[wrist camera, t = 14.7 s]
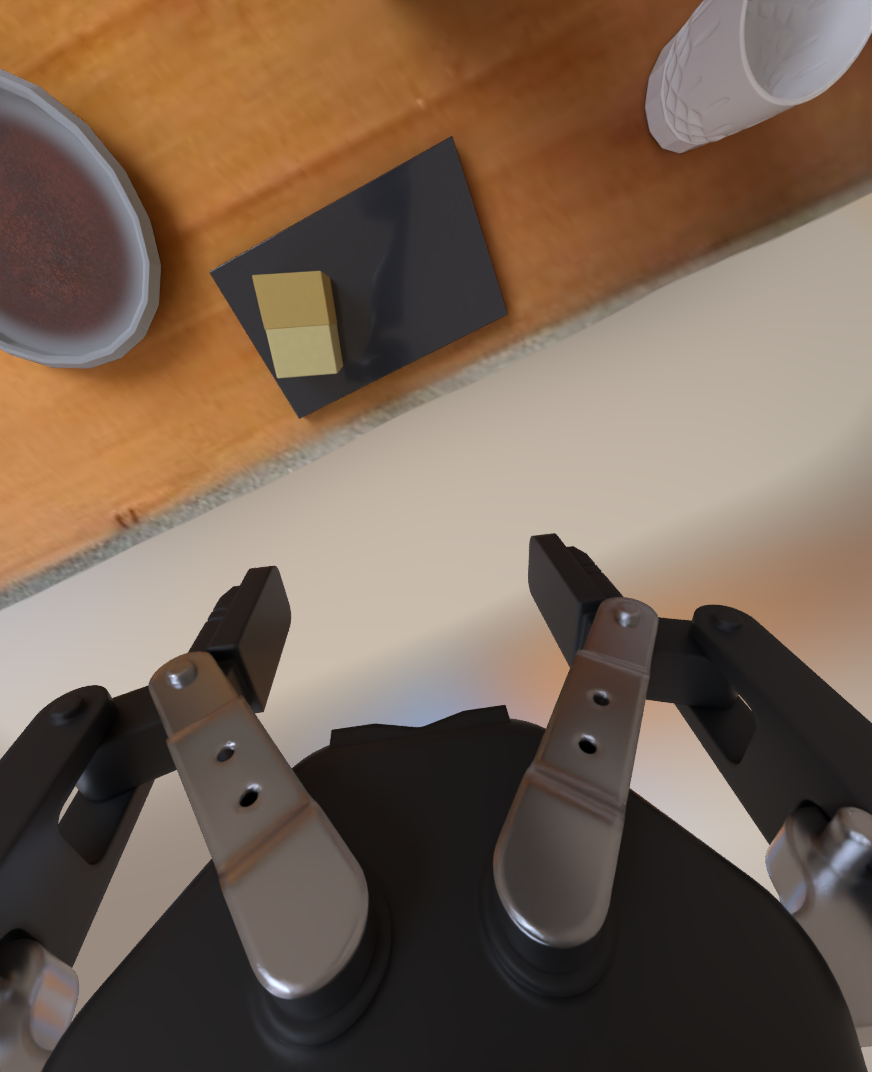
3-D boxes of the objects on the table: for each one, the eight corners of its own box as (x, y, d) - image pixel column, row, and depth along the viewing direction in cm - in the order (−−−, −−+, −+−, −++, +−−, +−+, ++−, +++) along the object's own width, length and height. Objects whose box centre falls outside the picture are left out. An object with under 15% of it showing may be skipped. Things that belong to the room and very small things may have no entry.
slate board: (449, 141, 30) (452, 135, 28) (504, 314, 35) (508, 314, 34) (214, 273, 32) (208, 271, 31) (301, 416, 37) (299, 419, 36)
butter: (329, 277, 32) (320, 270, 27) (344, 366, 35) (338, 373, 30) (270, 281, 31) (251, 275, 27) (290, 370, 34) (276, 378, 30)
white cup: (762, 32, 29) (930, -93, 20) (709, 175, 32) (831, 122, 23) (663, -5, 27) (796, -159, 18) (619, 148, 31) (713, 81, 22)
